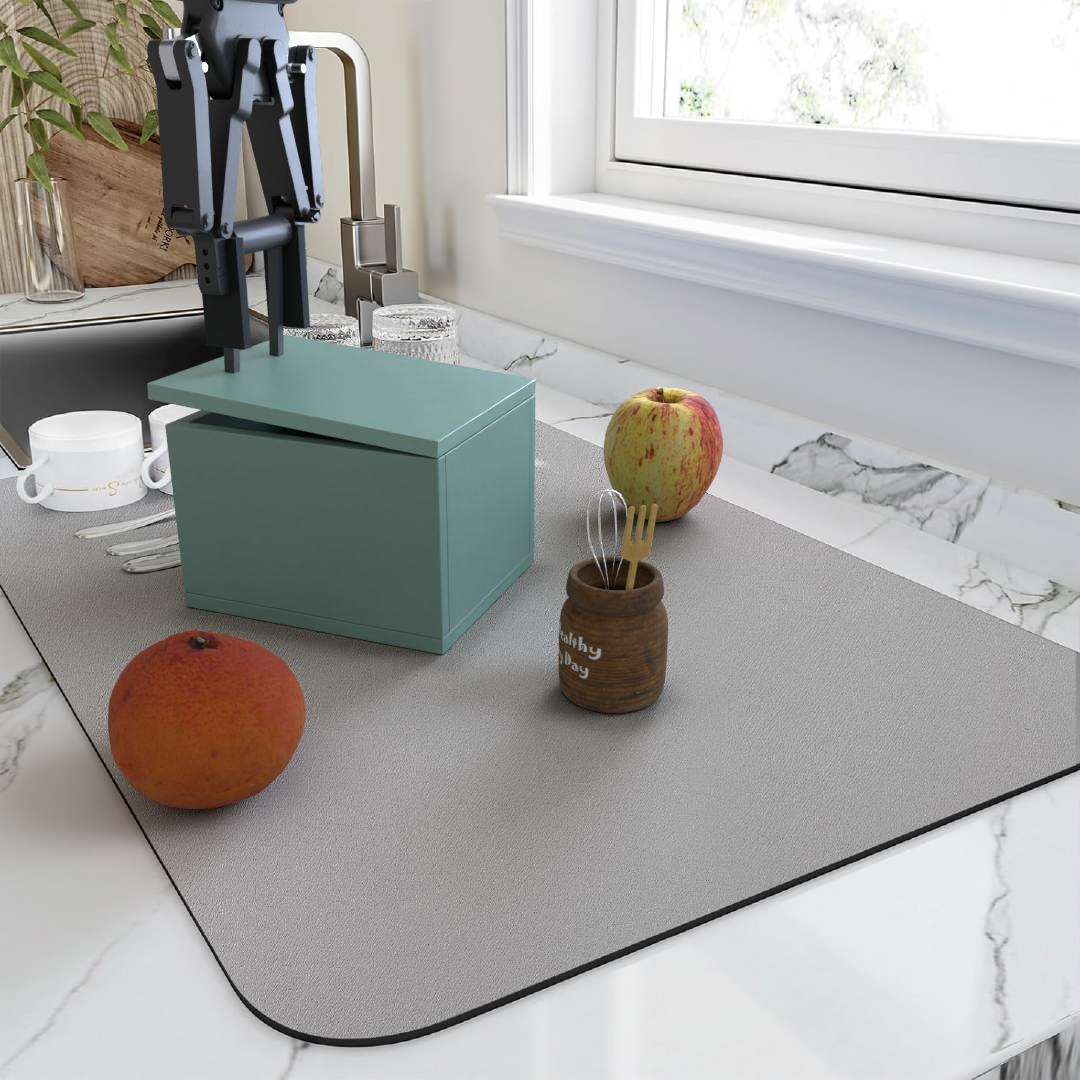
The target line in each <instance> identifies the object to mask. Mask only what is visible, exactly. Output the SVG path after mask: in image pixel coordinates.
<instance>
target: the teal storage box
mask: <svg viewBox="0 0 1080 1080" xmlns="http://www.w3.org/2000/svg"><path fill="white" fill-rule="evenodd" d="M164 427H165V437H166V443H167V454H168V462H169V471H170V479H171V489H172V496H173V497H172V498H173V505H174V514H175V522H176V530H177V541H178V547H179V558H180V565H181V574H182V582H183V591H184V601H185V607H188V608H192V609H193V608H194V609H199V610H203V611H204V610H206V611H210V612H213V613H214V612H215V613H221V614H225V615H231V616H236V617H241V618H247V619H252V620H257V621H261V622H268V623H273V624H278V625H283V626H288V627H294V628H299V629H304V630H305V629H306V630H309V631H315V632H320V633H326V634H331V635H337V636H341V637H347V638H351V639H357V640H362V641H368V642H373V643H379V644H383V645H390V646H394V647H400V648H405V649H410V650H415V651H420V652H426V653H432V654H436V655H444V654H445V653H446V652H447V651H449V649H450V648H451V647H452V646H453V645H454V644H455V643H456V642H457V641H458V640H459V639H461V637H462V636H463V635H464V634H465V633H466V632H468V630H469V629H470V628H471V627H472V625H474V624H475V623H476V622H477V620H479V618H481V616H483V615H484V613H486V611H487V610H489V608H491V606H492V605H493V604H494V603H495V602H496V601H497V600H498V599H499V598H500V597H501V596H502V595H503V594H504V593H505V592H506V591H507V590H508V589H509V588H510V587H511V586H512V585H513V584H514V583H515V582H516V581H517V580H518V579H519V578H520V577H521V576H522V575H523V574H524V573H525V572H526V571H527V569H529V568H530V566H532V565H533V564H534V562H535V500H536V499H535V493H536V489H535V487H536V486H535V484H536V482H535V481H536V480H535V478H536V394H533V395H532V396H530V397H529V398H527V399H526V400H524V401H523V402H521V403H520V404H518V405H517V406H515V407H514V408H512V409H511V410H509V411H508V412H506V413H505V414H503V415H502V416H500V417H499V418H497V419H496V420H494V421H493V422H491V423H490V424H488V425H487V426H485V427H484V428H482V429H481V430H479V431H478V432H476V433H475V434H473V435H472V436H470V437H469V438H467V439H466V440H464V441H463V442H461V443H460V444H458V445H457V446H455V447H454V448H452V449H451V450H449V451H448V452H446V453H445V454H443V455H442V456H440V457H439V458H433V457H428V456H423V455H418V454H414V453H409V452H404V451H399V450H394V449H389V448H384V447H379V446H375V445H370V444H365V443H360V442H355V441H350V440H345V439H340V438H336V437H331V436H326V435H321V434H316V433H311V432H306V431H301V430H297V429H292V428H287V427H282V426H277V425H272V424H267V423H262V422H258V421H253V420H248V419H243V418H238V417H233V416H228V415H223V414H219V413H214V412H209V411H204V410H198V411H195V412H192V413H189V414H188V415H185V416H183V417H180V418H177V419H176V420H173V421H171V422H168V423H166V424H164Z"/></svg>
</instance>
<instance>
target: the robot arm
mask: <svg viewBox="0 0 1080 1080" xmlns="http://www.w3.org/2000/svg"><path fill="white" fill-rule="evenodd" d="M177 1H178V2H182V4H183V5H182V6H183V12H182V19H181V20H182V21H181V25H180V29H179V30H180V31H179V32H180V35H179V34H178V35H177V36H175V37H172V38H171V39H150V40H149V41H148V43H147V45H146V52H147V53H146V54H147V58H148V61H149V65H150V68H151V72H152V75H153V79H154V80H153V81H154V83H155V86H156V100H157V101H156V102H157V103H156V104H157V117H158V119H157V120H158V134H159V148H160V150H159V152H160V164H161V165H160V168H161V181H162V197H163V198H162V199H163V215H164V216H163V217H164V222H165V225H166V227H168V228H169V229H172V230H173V229H174V230H175V232H176V234H177V235H178V236H180V237H181V236H183V237H191V238H192V241H193V244H194V254H195V266H196V276H197V286H198V288H199V291H200V294H201V299H202V309H203V311H202V312H203V321H204V332H205V342H206V347H214V348H215V347H216V348H223V349H224V348H232V349H239V350H246V349H248V348H251V347H252V346H253V345H252V335H251V321H250V309H249V297H248V283H247V282H248V281H247V271H246V259H245V258H246V257H245V255H244V245H243V238H240V237H231V235H232V232H233V223H234V222H235V212H236V201H237V189H238V179H239V172H240V171H239V170H240V169H239V168H240V158H241V148H242V138H243V126H244V123H245V126H246V130H247V133H248V137H249V141H250V145H251V149H252V153H253V158H254V161H255V165H256V169H257V173H258V177H259V181H260V185H261V186H260V187H261V188H262V194H263V198H264V202H265V205H266V209H267V213H268V215H273V214H280V215H282V216H284V217H285V218H287V220H288V221H289V222H290V224H291V227H292V237H291V240H290V241H289V243H288V244H286V245H284V246H282V250H283V328H284V327H285V328H293V329H308V328H310V327H311V320H310V319H311V317H310V301H309V285H308V270H307V267H308V258H307V242H306V241H307V240H306V224H318V223H319V222H320V220H321V218H322V211H321V209H323V207H324V205H325V191H324V179H323V169H322V156H321V155H322V154H321V145H320V144H321V143H320V133H319V121H318V111H317V110H318V109H317V99H316V88H315V87H316V85H315V84H316V74H317V62H318V53H317V50H316V48H315V46H313V45H311V44H305V45H304V44H296V43H294V42H293V41H291V40H290V39H291V38H290V33H289V30H288V27H287V24H286V20H285V15H284V7H285V6H286V5H291V4H295V3H296V2H298V1H299V0H177ZM306 187H307V188H306ZM262 256H263V257H262V258H263V268H264V269H263V270H264V281H265V283H264V284H265V295H266V311H267V323H268V326H269V297H268V250H264V251H262Z"/></svg>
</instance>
